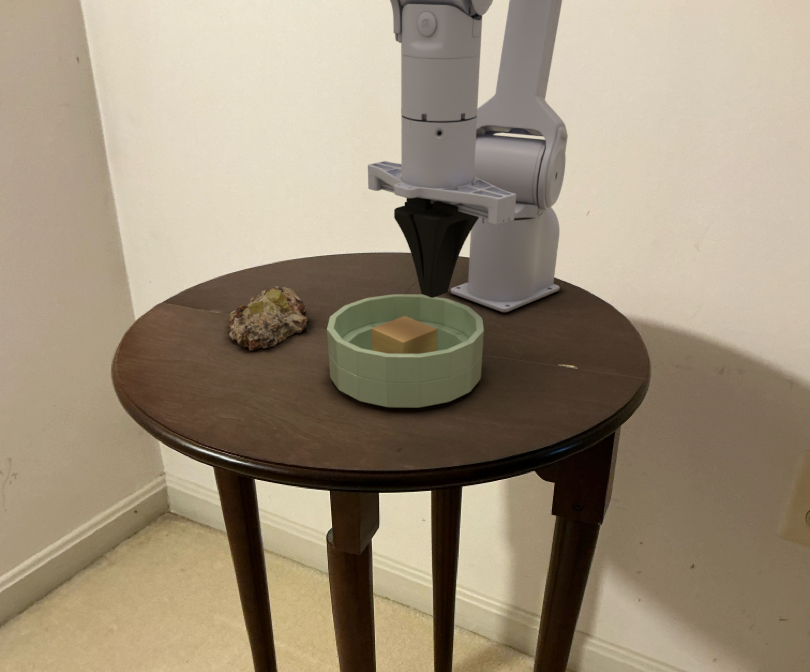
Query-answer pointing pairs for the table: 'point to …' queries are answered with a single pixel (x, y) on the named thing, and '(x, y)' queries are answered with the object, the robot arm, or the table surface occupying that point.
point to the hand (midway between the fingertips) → (434, 293)
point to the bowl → (405, 373)
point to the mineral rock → (268, 319)
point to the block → (404, 337)
